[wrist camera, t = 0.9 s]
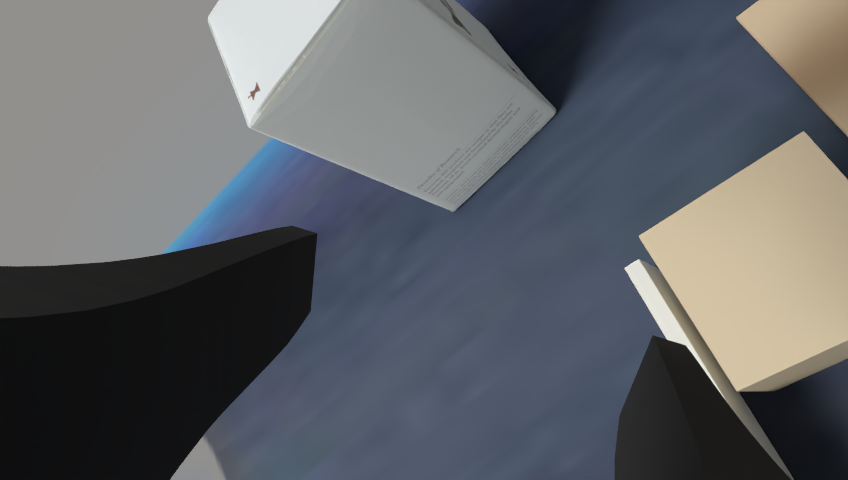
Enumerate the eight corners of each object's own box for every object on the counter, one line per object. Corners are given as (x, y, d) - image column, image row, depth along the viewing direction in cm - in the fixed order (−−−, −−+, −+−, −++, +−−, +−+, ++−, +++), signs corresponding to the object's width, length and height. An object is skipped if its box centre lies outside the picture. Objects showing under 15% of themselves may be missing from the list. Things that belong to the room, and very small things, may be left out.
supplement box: (563, 112, 27) (376, -42, 17) (453, 216, 30) (241, 134, 20) (489, 24, 31) (303, -141, 21) (398, 124, 34) (198, 18, 24)
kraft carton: (937, 318, 17) (950, 293, 13) (774, 391, 20) (736, 391, 15) (826, 190, 20) (804, 131, 15) (692, 267, 22) (638, 236, 17)
